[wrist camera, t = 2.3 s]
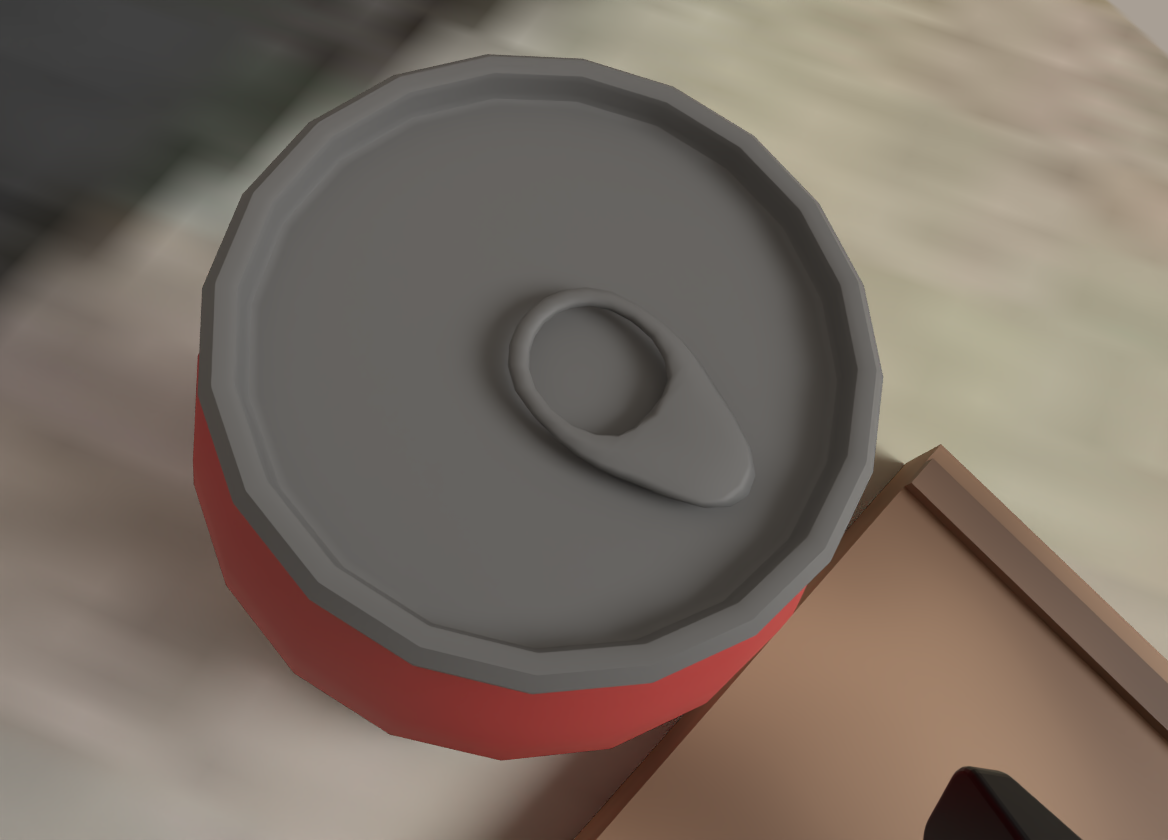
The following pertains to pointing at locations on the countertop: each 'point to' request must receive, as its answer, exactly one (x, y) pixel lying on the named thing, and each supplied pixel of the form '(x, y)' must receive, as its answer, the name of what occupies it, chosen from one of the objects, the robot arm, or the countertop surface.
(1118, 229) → the countertop surface
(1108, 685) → the walnut board
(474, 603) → the beer can
